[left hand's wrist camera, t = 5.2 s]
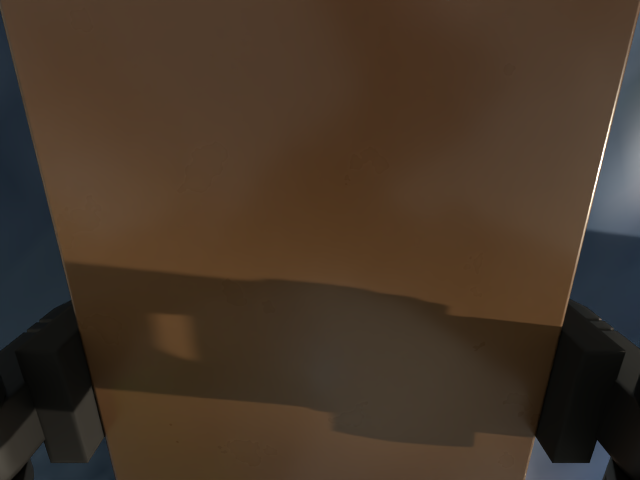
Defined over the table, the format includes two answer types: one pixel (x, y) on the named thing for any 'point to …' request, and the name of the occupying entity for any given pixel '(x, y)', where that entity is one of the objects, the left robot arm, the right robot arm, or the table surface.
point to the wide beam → (320, 222)
